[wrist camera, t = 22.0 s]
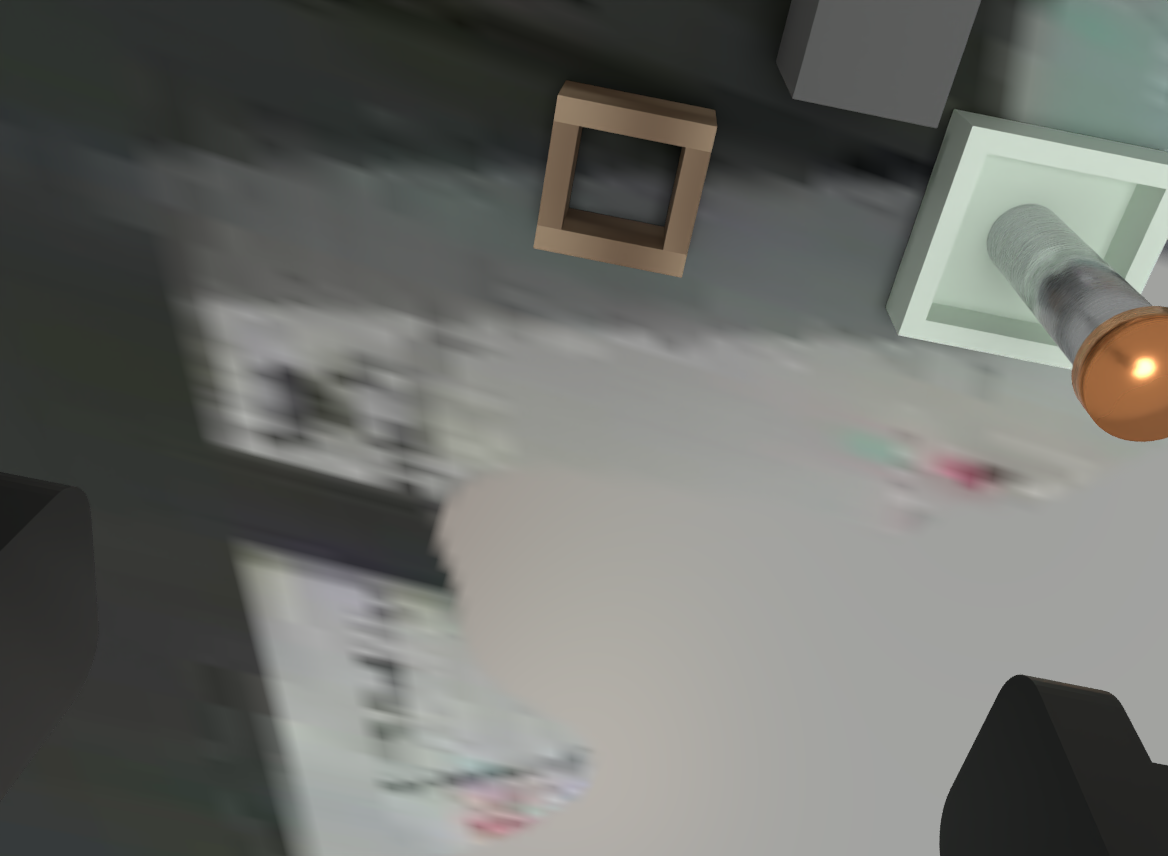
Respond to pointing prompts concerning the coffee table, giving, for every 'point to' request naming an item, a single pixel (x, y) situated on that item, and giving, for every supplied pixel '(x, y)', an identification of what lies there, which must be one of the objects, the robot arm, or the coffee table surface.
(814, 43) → the block
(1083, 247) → the pin
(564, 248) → the pin socket
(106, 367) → the coffee table surface
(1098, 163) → the tray
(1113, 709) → the robot arm
